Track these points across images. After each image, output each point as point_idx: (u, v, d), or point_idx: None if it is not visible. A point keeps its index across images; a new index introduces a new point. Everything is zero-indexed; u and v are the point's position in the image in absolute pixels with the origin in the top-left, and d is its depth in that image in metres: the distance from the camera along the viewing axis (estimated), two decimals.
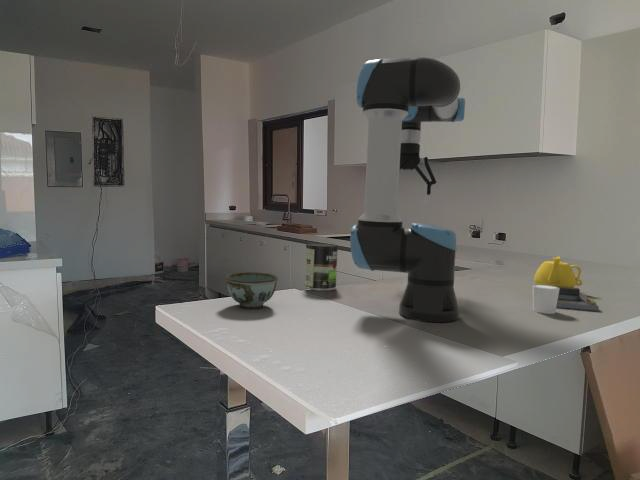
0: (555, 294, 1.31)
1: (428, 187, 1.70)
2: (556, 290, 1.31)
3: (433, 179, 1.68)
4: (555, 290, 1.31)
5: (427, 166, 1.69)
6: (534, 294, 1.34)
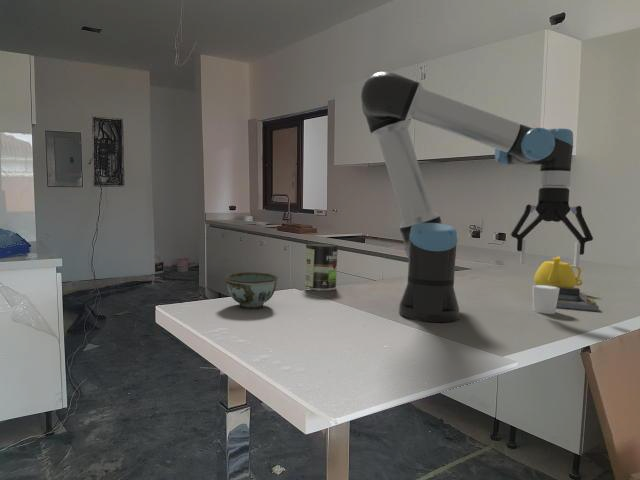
0: (555, 294, 1.31)
1: (581, 245, 1.30)
2: (556, 290, 1.31)
3: (588, 235, 1.29)
4: (555, 290, 1.31)
5: (581, 218, 1.29)
6: (534, 294, 1.34)
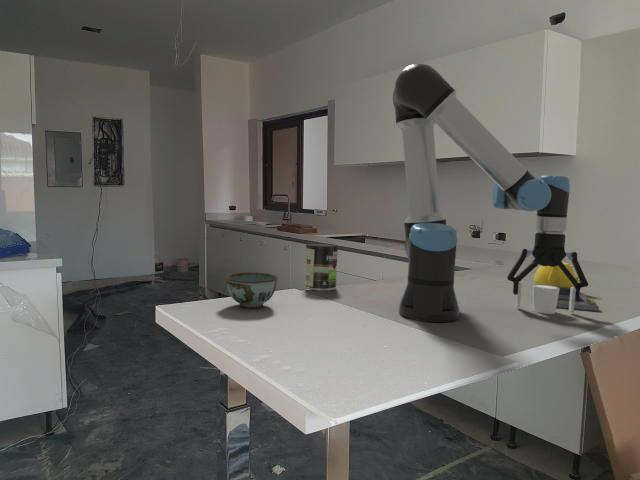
0: (555, 294, 1.31)
1: (576, 290, 1.31)
2: (556, 290, 1.31)
3: (584, 281, 1.30)
4: (555, 290, 1.31)
5: (576, 264, 1.30)
6: (534, 294, 1.34)
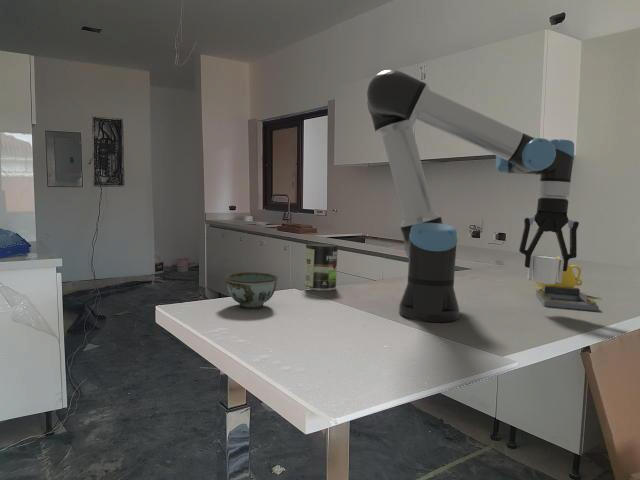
0: (556, 264, 1.30)
1: (565, 262, 1.31)
2: (557, 260, 1.30)
3: (574, 252, 1.30)
4: (556, 260, 1.30)
5: (574, 233, 1.30)
6: (534, 264, 1.33)
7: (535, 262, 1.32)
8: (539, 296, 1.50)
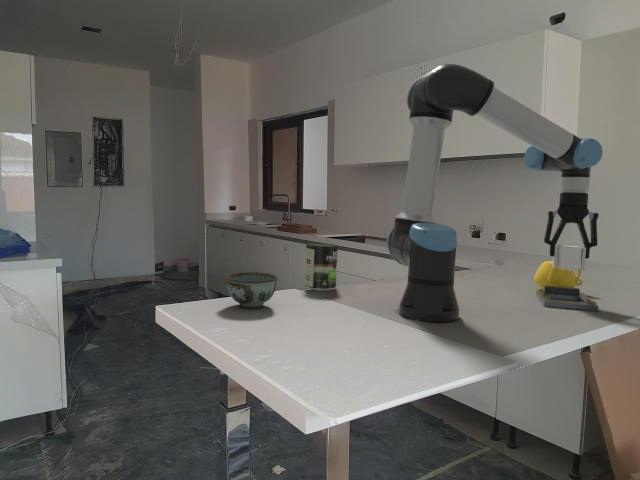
0: (579, 252, 1.43)
1: (586, 250, 1.44)
2: (579, 248, 1.43)
3: (594, 241, 1.43)
4: (579, 248, 1.43)
5: (594, 224, 1.42)
6: (559, 253, 1.45)
7: (559, 251, 1.45)
8: (539, 296, 1.50)
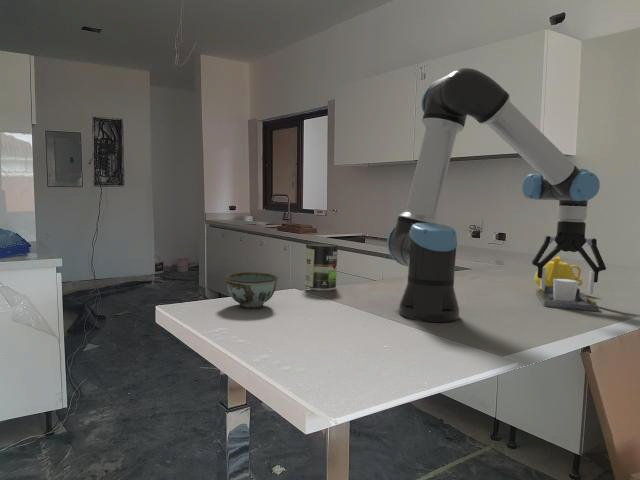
0: (574, 287, 1.44)
1: (595, 274, 1.44)
2: (575, 283, 1.44)
3: (602, 265, 1.42)
4: (574, 283, 1.44)
5: (595, 249, 1.43)
6: (555, 287, 1.47)
7: (555, 285, 1.46)
8: (539, 296, 1.50)
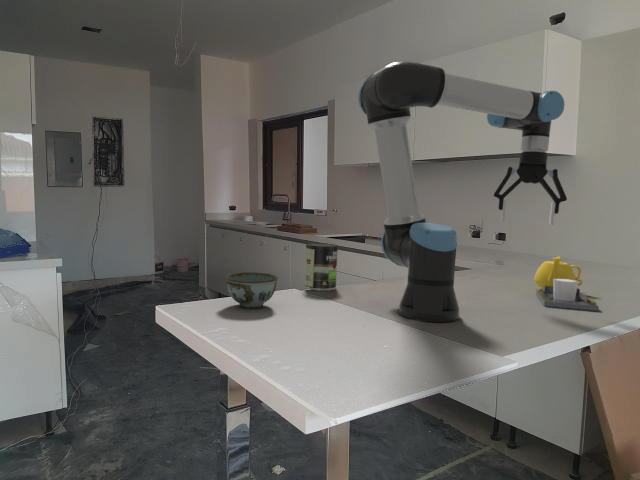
0: (574, 287, 1.44)
1: (556, 205, 1.43)
2: (575, 283, 1.44)
3: (563, 196, 1.42)
4: (574, 283, 1.44)
5: (556, 180, 1.42)
6: (555, 287, 1.47)
7: (555, 285, 1.46)
8: (539, 296, 1.50)
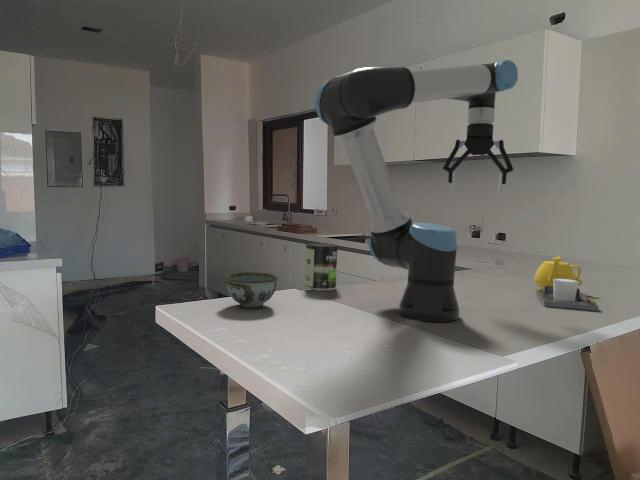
0: (574, 287, 1.44)
1: (503, 175, 1.44)
2: (575, 283, 1.44)
3: (509, 166, 1.43)
4: (574, 283, 1.44)
5: (503, 151, 1.43)
6: (555, 287, 1.47)
7: (555, 285, 1.46)
8: (539, 296, 1.50)
